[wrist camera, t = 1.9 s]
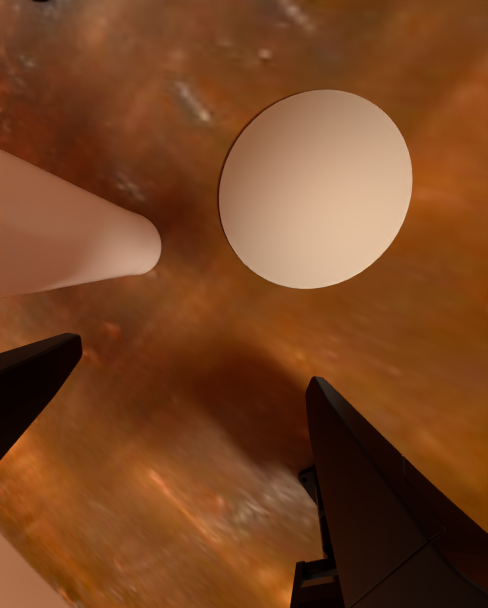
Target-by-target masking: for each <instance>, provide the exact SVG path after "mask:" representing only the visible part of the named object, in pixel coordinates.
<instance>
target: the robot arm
mask: <svg viewBox="0 0 488 608" xmlns="http://www.w3.org/2000/svg"><path fill="white" fill-rule="evenodd" d="M82 353H83V351H82V343H81V337H80V335H78V334H73V333H64V334H61V335H57V336H54V337H51V338H48V339H44V340H41V341H38V342H35V343H31V344H28V345H25V346H22V347H19V348H15V349H12V350H9V351H6V352H2V353H0V460H1V459H2V458H3V457H4V455H5V454H6V453H7V452H8V451H9V449H10V448H11V447H12V446H13V445H14V444H15V442H16V441H17V440H18V439H19V438H20V436H21V435H22V434H23V433H24V432H25V431H26V429H27V428H28V427H29V426H30V425H31V423H32V422H33V421H34V420H35V419H36V417H37V416H38V415H39V414H40V413H41V412H42V410H43V409H44V408H45V407H46V406H47V404H48V403H49V402H50V401H51V400H52V398H53V397H54V396H55V395H56V393H57V392H58V391H59V389H60V388H61V386H62V385H63V384H64V382H65V381H66V379H67V378H68V376H69V375H70V373H71V372H72V370H73V369H74V368H75V366H76V365H77V363H78V362H79V360H80V359H81V357H82ZM305 399H306V408H307V418H308V428H309V436H310V441H311V446H312V451H313V456H314V460H315V466H313V467H311V468H308V469H306V470H304V471H301V472H300V473H299V481H300V483H301V484H302V486H303V487H304V489H305V490H306V491H307V493H308V494H309V496H310V497H311V498H312V500H313V501H314V502H315V504H316V505H317V509H318V516H319V524H320V532H321V540H322V548H323V556H324V559H320V560H315V561H310V562H305V561H300V562H297V563H296V569H295V576H294V583H293V590H292V597H291V604H290V608H488V533H487V532H486V531H484V530H483V529H482V528H481V527H480V526H479V525H478V524H477V523H475V522H474V521H473V520H472V519H471V518H470V517H469V516H467V515H466V514H465V513H464V512H463V511H462V510H461V509H460V508H458V507H457V506H456V505H455V504H454V503H453V502H452V501H451V500H450V499H448V498H447V497H446V496H445V495H444V494H443V493H442V492H441V491H440V490H438V489H437V488H436V487H435V486H434V485H433V484H432V483H431V482H430V481H429V480H428V479H427V478H426V477H425V476H424V475H422V474H421V473H420V472H419V471H418V470H417V469H416V468H415V467H414V466H413V465H412V464H411V463H410V462H409V461H408V460H407V459H406V458H405V457H404V456H402V454H401V453H400V452H399V451H398V450H397V449H396V448H395V447H394V446H393V445H392V444H391V443H390V442H389V441H387V440H386V439H385V438H384V437H383V436H382V435H381V434H380V433H379V432H378V431H377V430H376V429H375V428H374V427H373V426H372V425H371V424H370V423H369V422H368V421H367V420H366V419H365V418H364V417H363V416H362V415H361V414H360V413H359V412H358V411H357V410H356V409H355V408H354V407H353V406H352V405H351V404H350V403H349V402H348V401H347V400H346V399H345V398H344V397H343V396H342V395H341V394H340V393H338V392H337V391H336V390H335V389H334V388H333V387H332V386H331V385H330V384H329V383H328V382H327V381H326V380H325V379H324V378H322V377H316V376H313V377H312V378H311V380H310V383H309V385H308V387H307V390H306V394H305ZM303 477H305V478H303Z"/></svg>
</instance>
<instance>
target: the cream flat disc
mask: <svg viewBox="0 0 488 608" xmlns="http://www.w3.org/2000/svg"><path fill="white" fill-rule="evenodd" d="M411 192H412V166H411V161H410V156H409V152H408V149H407V146H406V144H405V141H404V139H403V137H402V135H401V133H400V131H399V130H398V128H397V126H396V125H395V124H394V123H393V121H392V120H391V119H390V118H389V116H387V115H386V114H385V113H384V112H383V111H382V110H381V109H380V108H379V107H377V106H376V105H374V104H373V103H371V102H370V101H368V100H366V99H364V98H362V97H359V96H357V95H354V94H351V93H347V92H343V91H336V90H314V91H308V92H303V93H299V94H296V95H293V96H290V97H288V98H286V99H283V100H281V101H279V102H277V103H275V104H274V105H272V106H271V107H269V108H268V109H266V110H265V111H263V112H262V113H261V114H260V115H259V116H257V117H256V118H255V119H254V120H253V121H252V122H251V123H250V124H249V125H248V126H247V127H246V128H245V130H244V131H243V132H242V134H241V135H240V136H239V138H238V139H237V141H236V143H235V144H234V146H233V148H232V149H231V151H230V154H229V156H228V158H227V161H226V163H225V166H224V170H223V173H222V177H221V183H220V191H219V209H220V216H221V221H222V225H223V228H224V232H225V234H226V236H227V239H228V241H229V243H230V245H231V246H232V248H233V250H234V251H235V253H236V254H237V255H238V257H239V258H240V259H241V260H242V262H243V263H245V264H246V265H247V266H248V267H249V268H250V269H251V270H252V271H254V272H255V273H256V274H258V275H259V276H261V277H263V278H265V279H267V280H268V281H271V282H274V283H276V284H279V285H283V286H287V287H292V288H301V289H307V288H319V287H326V286H330V285H333V284H337V283H339V282H342V281H344V280H347V279H349V278H351V277H353V276H355V275H356V274H358V273H360V272H361V271H363V270H364V269H366V268H367V267H368V266H370V265H371V264H372V263H373V262H374V261H375V260H376V259H378V258H379V257H380V256H381V255H382V254H383V252H384V251H385V250H386V249H387V248H388V246H389V245H390V244H391V242H392V241H393V239H394V238H395V236H396V235H397V233H398V231H399V229H400V227H401V225H402V223H403V221H404V219H405V216H406V213H407V210H408V207H409V202H410V198H411Z"/></svg>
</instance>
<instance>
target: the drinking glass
mask: <svg viewBox="0 0 488 608" xmlns="http://www.w3.org/2000/svg"><path fill="white" fill-rule="evenodd" d="M160 255H161V239H160V235H159V233H158V231H157V229H156V227H155V226H154V225H153V223H152V222H151V221H150V220H148V219H147V218H146V217H144V216H142V215H140V214H137V213H134V212H132V211H129V210H126V209H124V208H122V207H120V206H118V205H116V204H114V203H112V202H109V201H107V200H105V199H103V198H101V197H99V196H97V195H95V194H93V193H91V192H89V191H87V190H85V189H83V188H80V187H78V186H76V185H74V184H72V183H70V182H68V181H66V180H64V179H62V178H60V177H58V176H56V175H54V174H52V173H50V172H48V171H46V170H44V169H42V168H39V167H37V166H35V165H33V164H31V163H29V162H27V161H25V160H23V159H21V158H19V157H17V156H15V155H12V154H10V153H8V152H6V151H4V150H2V149H0V298H7V297H13V296H19V295H25V294H30V293H36V292H41V291H47V290H52V289H57V288H62V287H68V286H73V285H78V284H84V283H89V282H95V281H100V280H106V279H111V278H117V277H123V276H133V275H141V274H144V273H146V272H148V271H150V270H151V269H152V268H153V267H154V266H155V265H156V264H157V262H158V260H159V258H160Z"/></svg>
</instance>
